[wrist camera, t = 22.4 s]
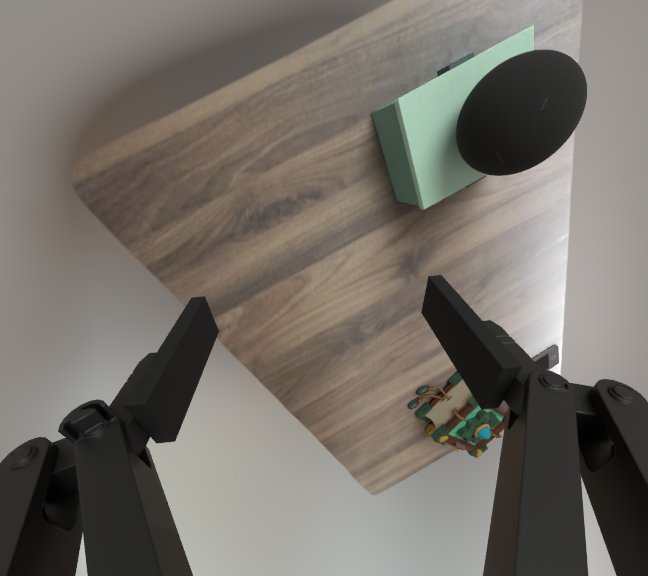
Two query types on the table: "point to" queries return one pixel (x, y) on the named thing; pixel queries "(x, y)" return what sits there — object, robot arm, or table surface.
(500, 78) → the speaker
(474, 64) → the box
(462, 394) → the book
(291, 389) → the table surface
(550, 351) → the smartphone
